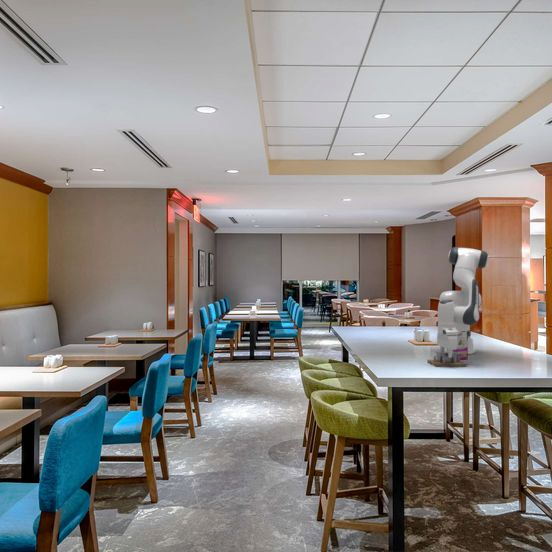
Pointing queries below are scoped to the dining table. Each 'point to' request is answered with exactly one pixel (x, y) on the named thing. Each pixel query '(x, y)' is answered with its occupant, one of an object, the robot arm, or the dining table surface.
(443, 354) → the block
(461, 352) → the candy bar box
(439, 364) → the pin tray
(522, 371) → the dining table surface
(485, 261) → the robot arm
